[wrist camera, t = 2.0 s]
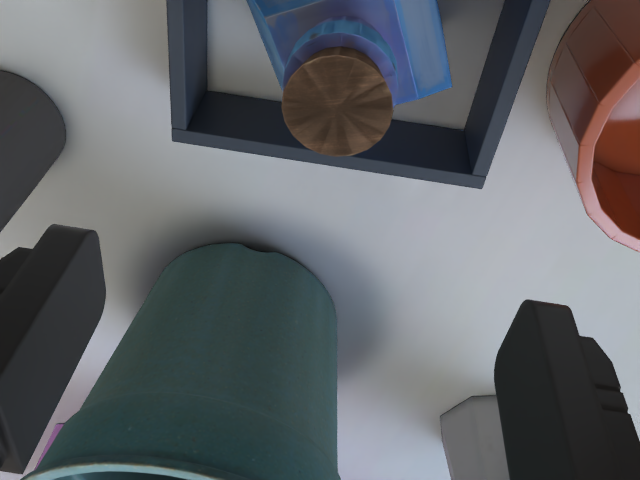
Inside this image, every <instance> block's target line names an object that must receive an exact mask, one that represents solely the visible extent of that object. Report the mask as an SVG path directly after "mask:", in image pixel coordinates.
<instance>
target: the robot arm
mask: <svg viewBox="0 0 640 480" xmlns="http://www.w3.org/2000/svg"><path fill="white" fill-rule="evenodd" d="M105 298H106V287H105V279H104V272H103V265H102V258H101V251H100V244H99V238H98V234H97V233H96V231H94V230H89V229H83V228H76V227H70V226H63V225H57V224H53V225H51V226H50V227H48V229H47V230H46V231H45V233H44V234H43V235H42V237H41V238H40V240H39V241H38V243H37V244H36V245H35V247H34V248H33V249H28V248H22V247H18V248H17V249H15V250H14V251H12V252H11V253H9V254H8V255H6V256H5V257H3V258H2V259H0V471H4V472H11V473H17V474H23V472H24V470H25V468H26V466H27V465H28V463H29V461H30V459H31V457H32V455H33V453H34V451H35V449H36V447H37V445H38V443H39V441H40V439H41V437H42V435H43V433H44V431H45V429H46V427H47V425H48V423H49V421H50V419H51V417H52V415H53V413H54V411H55V409H56V407H57V405H58V403H59V401H60V399H61V397H62V395H63V393H64V391H65V389H66V387H67V385H68V383H69V381H70V379H71V377H72V375H73V373H74V371H75V369H76V367H77V365H78V363H79V361H80V359H81V357H82V355H83V353H84V351H85V349H86V347H87V345H88V343H89V341H90V339H91V337H92V335H93V333H94V331H95V329H96V327H97V325H98V323H99V321H100V318H101V316H102V313H103V309H104V304H105ZM494 383H495V390H496V396H497V402H498V409H499V415H500V421H501V428H502V434H503V441H504V447H505V453H506V460H507V466H508V473H509V479H510V480H640V441H639V438H638V435H637V432H636V430H635V427H634V424H633V421H632V418H631V415H630V414H628V412H627V411H628V407H627V404H626V401H625V398H624V395H623V393H621V392H620V388H621V387H620V384H619V381H618V378H617V375H616V372H615V369H614V367H613V364H612V362H611V360H610V359H609V358H608V356H607V355H606V354H605V353H604V351H603V350H602V349H601V348H600V346H599V345H598V344H597V343H596V341H595V340H594V339H593V338H590V337H583V336H579V333H578V330H577V327H576V323H575V320H574V317H573V314H572V311H571V309H570V308H569V307H568V306H566V305H560V304H554V303H547V302H541V301H534V300H525V301H524V302H523V303H522V304H521V306H520V308H519V310H518V312H517V314H516V316H515V318H514V320H513V322H512V324H511V326H510V328H509V330H508V332H507V334H506V336H505V338H504V340H503V343H502V345H501V347H500V349H499V351H498V354H497V357H496V362H495V369H494Z"/></svg>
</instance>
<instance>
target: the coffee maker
mask: <svg viewBox="0 0 640 480" xmlns="http://www.w3.org/2000/svg"><path fill="white" fill-rule="evenodd" d="M440 421H441V433H442V442H443V447H444V451H445V455H446V459H447V463H448V468H449V472H450V476H451V480H510V479H509V473H508V466H507V460H506V453H505V447H504V441H503V434H502V428H501V421H500V415H499V409H498V402H497V396H476V397H470V398H469V399H467V400H466V401H464V402H462V403H461V404H459V405H458V406H456V407H454V408H453V409H451V410H450V411H448V412H446V413H445V414H443V415H442V416H440Z"/></svg>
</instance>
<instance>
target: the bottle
mask: <svg viewBox="0 0 640 480" xmlns="http://www.w3.org/2000/svg"><path fill="white" fill-rule="evenodd" d="M65 140H66V134H65V125H64V122H63V119H62V117H61V115H60V113H59V111H58V109H57V107H56V106H55V105H54V103H53V102H52V101H51V100H50V98H49V97H48V96H47V95H46V94H45V93H44V92H42V91H41V90H40V89H39V88H38V87H37V86H35V85H34V84H32V83H31V82H29V81H27V80H26V79H24V78H22V77H20V76H17V75H14V74H11V73H8V72H5V71H0V232H1V231H2V230H3V228H4V227H5V226H6V224H7V223H8V222H9V221H10V219H11V218H12V217H13V215H14V214H15V213H16V212H17V210H18V209H19V208H20V206H21V205H22V204H23V203H24V201H25V200H26V199H27V197H28V196H29V195H30V194H31V192H32V191H33V190H34V189H35V187H36V186H37V185H38V183H39V182H40V181H41V179H42V178H43V177H44V175H45V174H46V173H47V171H48V170H49V169H50V167H51V166H52V165H53V163H54V162H55V161H56V159H57V158H58V157H59V155H60V153H61V152H62V150H63V148H64V145H65Z"/></svg>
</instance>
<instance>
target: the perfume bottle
mask: <svg viewBox="0 0 640 480" xmlns="http://www.w3.org/2000/svg"><path fill="white" fill-rule="evenodd" d="M247 2H248V5H249V7H250V10H251V12H252V15H253V18H254V20H255V23H256V25H257V28H258V30H259V33H260V35H261V38H262V40H263V43H264V46H265V48H266V51H267V53H268V56H269V58H270V61H271V63H272V66H273V68H274V71H275V74H276V76H277V79H278V81H279V84H280V86H281V89H282V91H283V97H282V105H281V107H282V112H283V116H284V121H285V123H286V125H287V127H288V128H289V130H290V132H291V133H292V135H293V136H294V137H295V138H296V139H297V140H298V141H299V142H300V143H302V144H303V145H304V146H305V147H307V148H309V149H311V150H313V151H315V152H317V153H319V154H323V155H329V156H335V157H340V156H351V155H355V154H358V153H360V152H363V151H365V150H368V149H369V148H370V147H372V146H373V145H374V144H376V143H377V142H378V141H379V140H381V138H382V137H383V135H384V134H385V132H386V131H387V129H388V128H389V126H390V122H391V118H392V114H393V109H394V106H395V105H397V104H401V103H405V102H409V101H413V100H417V99H420V98H423V97H426V96H429V95H431V94H434V93H437V92H440V91H442V90H445V89H448V88H451V87H452V82H451V76H450V70H449V64H448V58H447V51H446V45H445V39H444V33H443V27H442V22H441V17H440V12H439V7H438V2H437V0H247Z"/></svg>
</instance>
